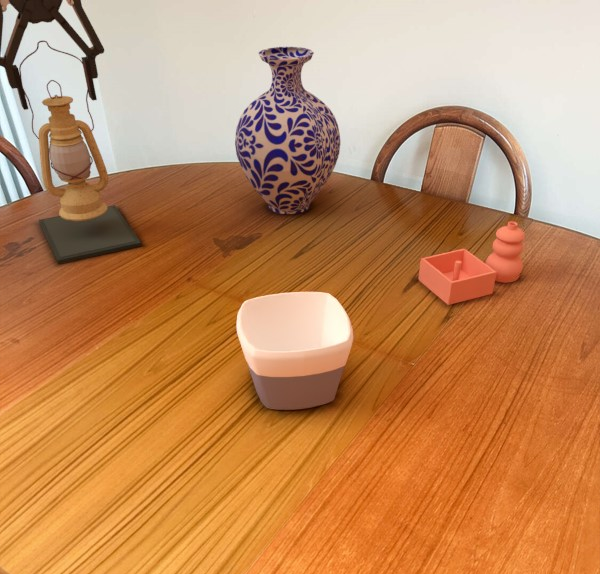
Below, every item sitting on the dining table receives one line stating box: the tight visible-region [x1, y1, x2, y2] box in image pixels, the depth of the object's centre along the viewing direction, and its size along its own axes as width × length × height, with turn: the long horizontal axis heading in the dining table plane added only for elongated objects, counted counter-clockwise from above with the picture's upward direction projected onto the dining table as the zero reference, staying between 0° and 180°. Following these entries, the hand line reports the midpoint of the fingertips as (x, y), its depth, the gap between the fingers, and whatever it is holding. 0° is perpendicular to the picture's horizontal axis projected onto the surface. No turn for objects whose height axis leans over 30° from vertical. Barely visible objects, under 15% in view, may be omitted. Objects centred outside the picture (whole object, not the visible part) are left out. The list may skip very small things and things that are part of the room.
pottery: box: [417, 221, 526, 306], centre depth 114 cm, size 18×10×10 cm, turn 114°
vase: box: [234, 46, 341, 215], centre depth 133 cm, size 22×22×30 cm
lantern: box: [18, 40, 109, 221], centre depth 119 cm, size 12×10×30 cm
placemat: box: [38, 204, 143, 265], centre depth 132 cm, size 16×20×1 cm
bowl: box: [235, 291, 354, 411], centre depth 90 cm, size 15×15×11 cm
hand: (59, 103), depth 116 cm, fingers closed on lantern, 11 cm apart
